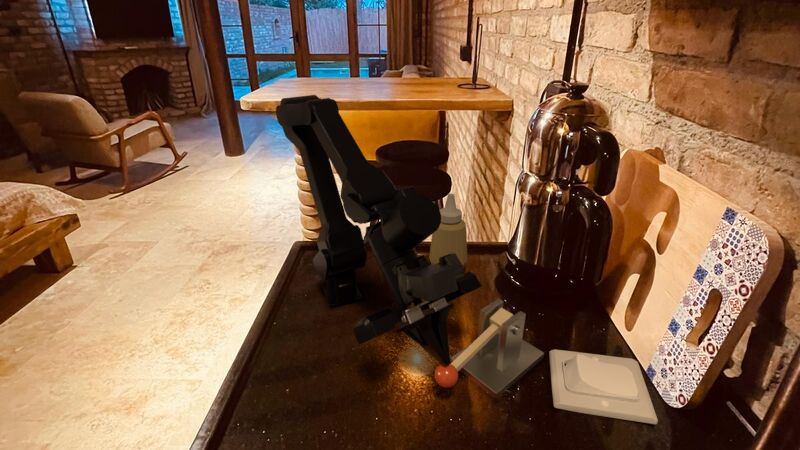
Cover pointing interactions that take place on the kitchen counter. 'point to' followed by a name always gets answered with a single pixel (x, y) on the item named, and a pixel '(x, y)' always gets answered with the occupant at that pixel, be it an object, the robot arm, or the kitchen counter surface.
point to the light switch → (600, 386)
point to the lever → (470, 350)
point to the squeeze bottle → (449, 234)
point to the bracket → (500, 354)
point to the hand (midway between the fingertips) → (446, 365)
